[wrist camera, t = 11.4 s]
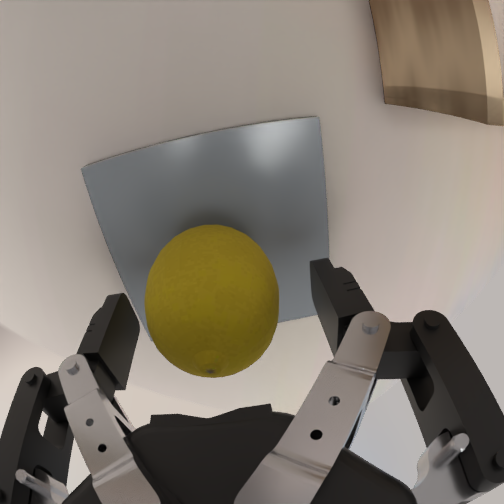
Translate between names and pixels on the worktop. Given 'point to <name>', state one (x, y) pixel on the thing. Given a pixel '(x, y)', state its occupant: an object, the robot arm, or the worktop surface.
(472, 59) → the open u-shaped oak frame
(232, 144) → the slate coaster
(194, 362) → the lemon
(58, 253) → the worktop surface
